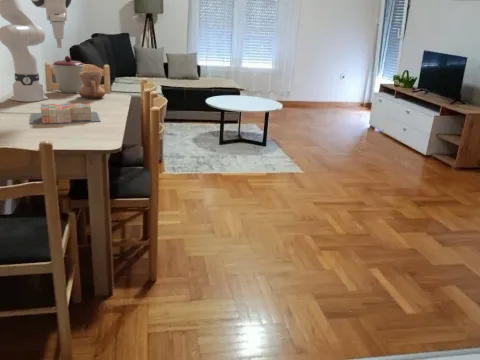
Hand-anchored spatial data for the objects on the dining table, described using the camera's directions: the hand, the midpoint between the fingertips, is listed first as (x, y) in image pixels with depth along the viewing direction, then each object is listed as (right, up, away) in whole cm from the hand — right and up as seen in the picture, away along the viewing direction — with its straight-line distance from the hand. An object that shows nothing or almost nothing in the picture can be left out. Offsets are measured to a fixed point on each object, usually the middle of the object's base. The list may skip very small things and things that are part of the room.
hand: (59, 47), depth 214 cm
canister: (-18, -9, +63) cm, 66 cm away
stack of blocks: (+2, -29, +2) cm, 29 cm away
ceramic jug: (-1, -15, +50) cm, 52 cm away
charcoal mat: (+2, -32, +2) cm, 33 cm away
